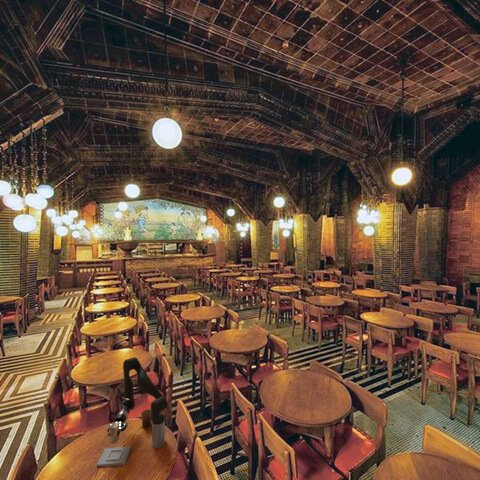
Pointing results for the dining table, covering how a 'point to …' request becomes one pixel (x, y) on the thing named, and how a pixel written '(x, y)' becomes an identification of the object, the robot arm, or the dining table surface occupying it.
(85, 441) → the dining table surface
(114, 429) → the pillar
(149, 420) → the mug
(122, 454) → the board
